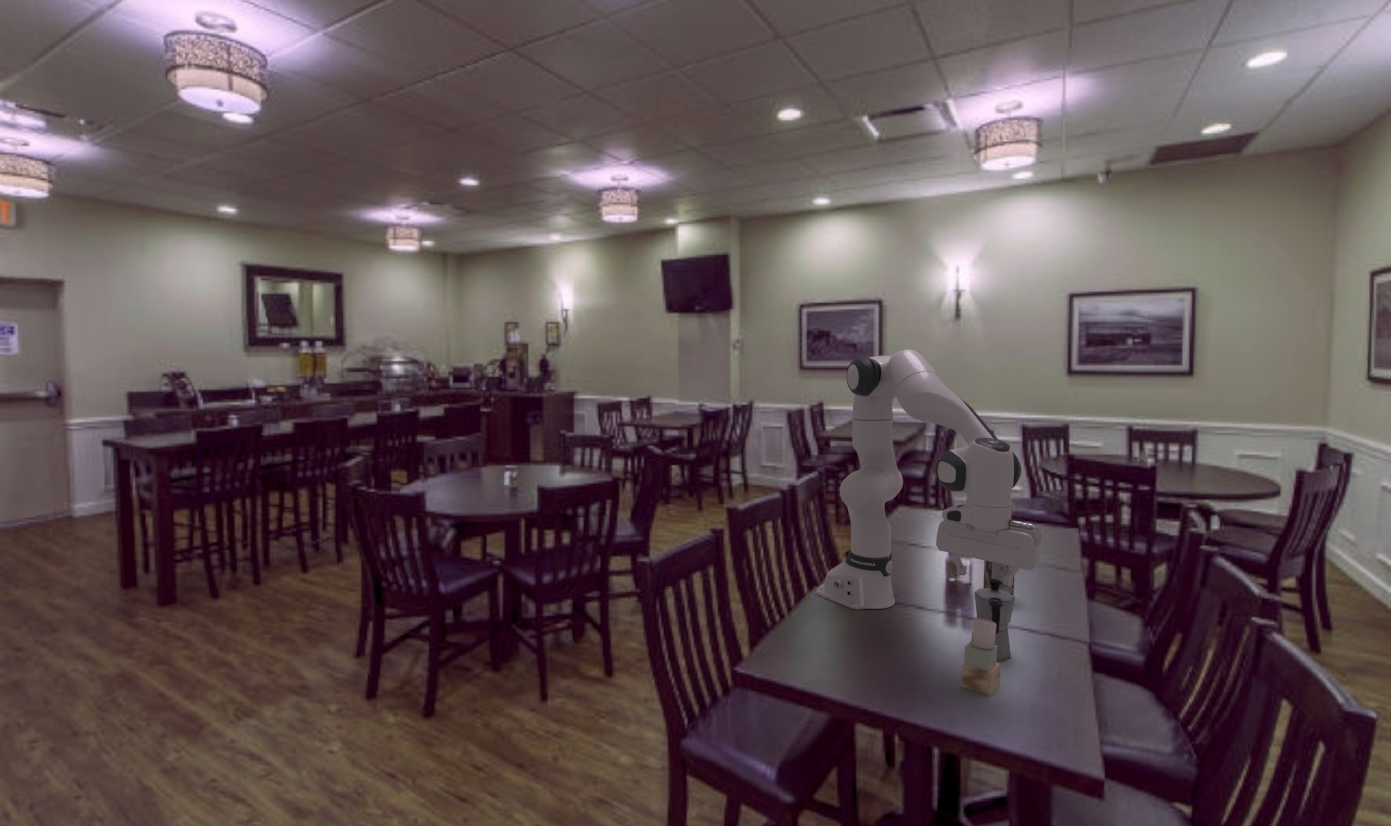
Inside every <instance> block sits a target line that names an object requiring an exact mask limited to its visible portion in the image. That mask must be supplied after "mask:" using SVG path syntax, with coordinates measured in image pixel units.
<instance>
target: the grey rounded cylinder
mask: <svg viewBox="0 0 1391 826" xmlns="http://www.w3.org/2000/svg"><path fill="white" fill-rule="evenodd" d="M971 629H972V630H971V638H970V640H971V644H973V645H974V646H977V647H980V648H984V649H993V648H994V646H995V635H996V623H995V622H993V621H990V620H987V619H981V618H977V617H976V618H973V619H972V628H971Z"/></svg>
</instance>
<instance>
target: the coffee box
mask: <svg viewBox="0 0 1391 826" xmlns="http://www.w3.org/2000/svg"><path fill="white" fill-rule="evenodd" d="M983 561H984V563H983V588H991V586H990V579H998V580H1000V585H999V590H1003V591H1007V592H1009V593H1010V594H1011V595H1013V596H1014V592H1015V591H1014V589H1015V576H1014V577H1013V584H1012V586H1011V587H1009V586H1005V585H1003V577H1005V575H1007V576H1009V575H1010V574H1011V573H1012V571H1009V566H1007V565H1003V564H998V563H994V562H989V561H985V560H983Z"/></svg>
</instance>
